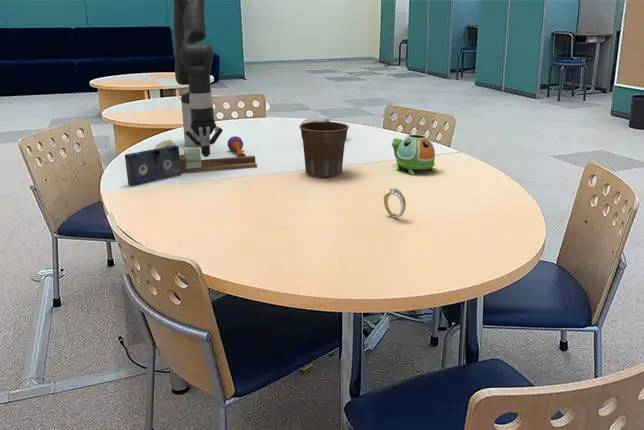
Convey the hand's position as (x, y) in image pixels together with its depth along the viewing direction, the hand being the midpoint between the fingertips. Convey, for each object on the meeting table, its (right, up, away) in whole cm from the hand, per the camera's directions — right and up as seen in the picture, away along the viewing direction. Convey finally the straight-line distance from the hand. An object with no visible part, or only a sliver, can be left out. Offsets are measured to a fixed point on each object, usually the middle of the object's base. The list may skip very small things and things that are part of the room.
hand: (206, 156), depth 205 cm
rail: (+4, -4, +2) cm, 6 cm away
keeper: (-4, -3, 0) cm, 5 cm away
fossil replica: (-16, -2, +9) cm, 18 cm away
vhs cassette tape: (-14, -9, -11) cm, 20 cm away
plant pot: (+41, -6, -4) cm, 41 cm away
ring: (+59, -21, -46) cm, 78 cm away
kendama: (+8, +2, +20) cm, 22 cm away
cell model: (+41, +10, +42) cm, 59 cm away
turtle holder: (+71, -5, 0) cm, 71 cm away
